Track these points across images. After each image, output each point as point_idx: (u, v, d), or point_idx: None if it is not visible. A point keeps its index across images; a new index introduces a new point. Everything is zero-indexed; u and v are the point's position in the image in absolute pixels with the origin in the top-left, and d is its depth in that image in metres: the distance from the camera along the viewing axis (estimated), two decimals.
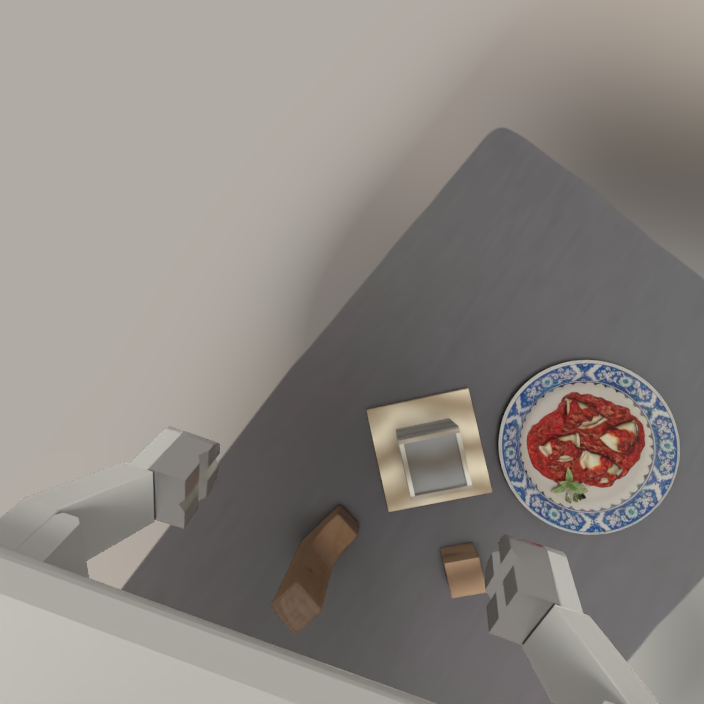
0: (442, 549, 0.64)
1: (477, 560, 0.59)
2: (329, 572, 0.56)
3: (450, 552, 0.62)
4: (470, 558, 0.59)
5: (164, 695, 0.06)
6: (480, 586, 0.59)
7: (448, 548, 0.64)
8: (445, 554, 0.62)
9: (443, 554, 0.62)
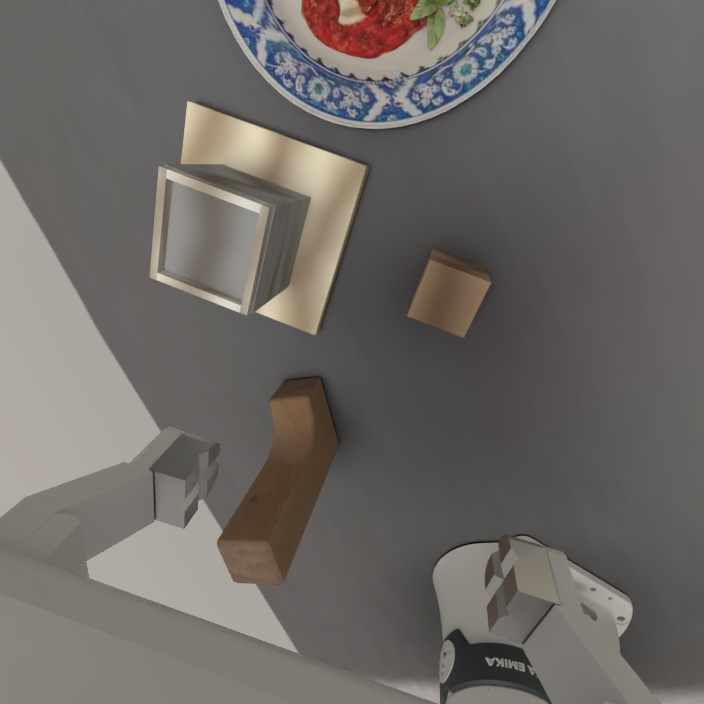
0: (413, 296, 0.38)
1: (433, 265, 0.32)
2: (299, 468, 0.37)
3: (415, 292, 0.36)
4: (424, 273, 0.32)
5: (166, 695, 0.06)
6: (475, 286, 0.32)
7: (416, 288, 0.37)
8: (411, 301, 0.36)
9: None
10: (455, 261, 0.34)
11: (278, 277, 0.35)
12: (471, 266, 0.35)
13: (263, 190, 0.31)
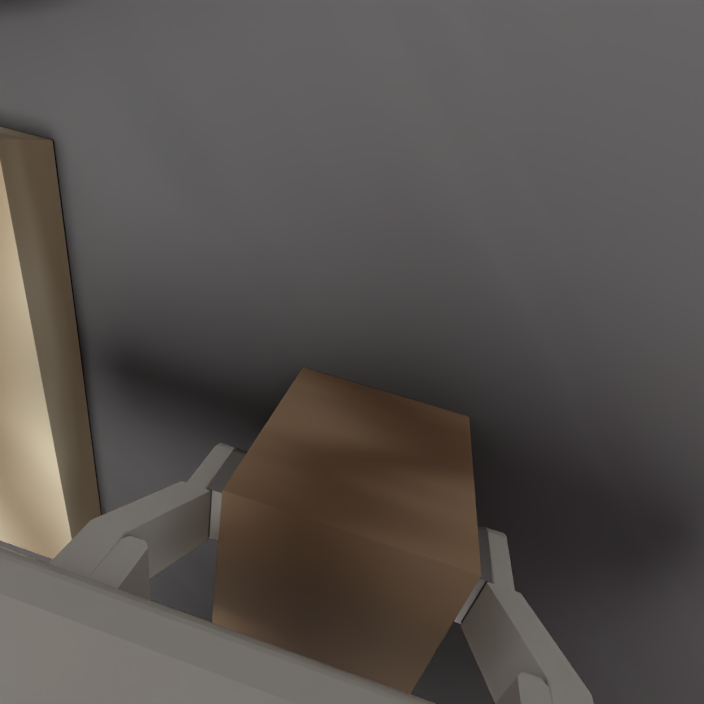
0: None
1: (239, 508, 0.08)
2: None
3: None
4: (220, 526, 0.08)
5: (165, 695, 0.06)
6: (419, 581, 0.08)
7: None
8: None
9: None
10: (357, 431, 0.10)
11: None
12: (415, 438, 0.10)
13: None
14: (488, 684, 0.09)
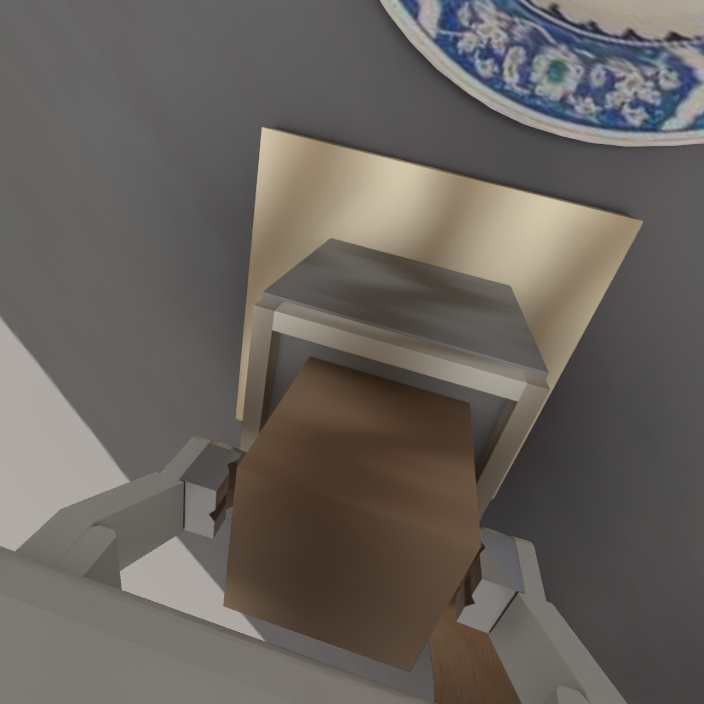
0: None
1: (252, 484, 0.08)
2: None
3: None
4: (234, 504, 0.09)
5: (165, 695, 0.06)
6: (422, 553, 0.08)
7: None
8: None
9: None
10: (363, 416, 0.11)
11: None
12: (418, 422, 0.11)
13: (458, 305, 0.15)
14: (519, 695, 0.09)
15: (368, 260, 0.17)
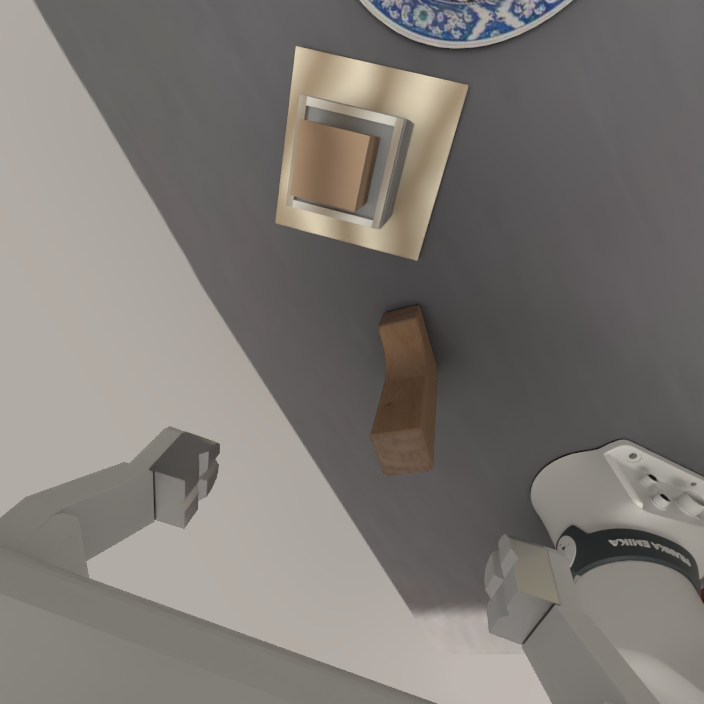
0: None
1: (304, 125, 0.28)
2: (421, 378, 0.40)
3: None
4: (297, 138, 0.29)
5: (165, 695, 0.06)
6: (354, 144, 0.28)
7: None
8: None
9: None
10: (338, 127, 0.30)
11: (392, 199, 0.38)
12: (358, 132, 0.31)
13: None
14: None
15: None
